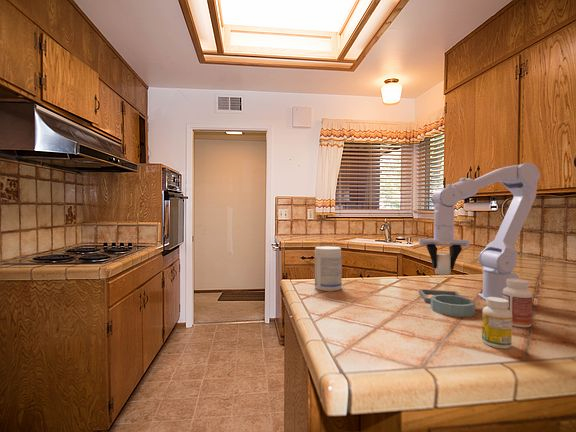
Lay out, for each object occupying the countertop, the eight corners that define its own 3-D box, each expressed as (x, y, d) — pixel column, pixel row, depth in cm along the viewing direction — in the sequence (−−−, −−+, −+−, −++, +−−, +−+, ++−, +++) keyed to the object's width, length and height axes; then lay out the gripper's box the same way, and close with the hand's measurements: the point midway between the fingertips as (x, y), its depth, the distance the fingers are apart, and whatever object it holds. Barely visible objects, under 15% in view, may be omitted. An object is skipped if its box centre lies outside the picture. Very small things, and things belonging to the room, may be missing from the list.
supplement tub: (346, 288, 115) (347, 247, 114) (330, 293, 108) (330, 250, 108) (325, 284, 122) (326, 245, 121) (308, 288, 115) (309, 247, 115)
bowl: (467, 306, 96) (467, 296, 95) (480, 318, 85) (480, 307, 85) (427, 303, 98) (427, 293, 98) (435, 314, 87) (436, 303, 87)
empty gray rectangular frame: (456, 294, 108) (456, 291, 108) (468, 305, 96) (468, 301, 96) (418, 292, 111) (418, 288, 111) (425, 302, 99) (425, 298, 99)
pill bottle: (536, 325, 80) (537, 281, 80) (525, 330, 77) (526, 284, 77) (508, 318, 85) (509, 276, 85) (497, 322, 82) (498, 279, 82)
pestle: (448, 272, 104) (448, 254, 104) (452, 275, 100) (452, 256, 100) (433, 271, 105) (434, 253, 105) (436, 274, 101) (437, 255, 101)
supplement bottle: (509, 351, 65) (511, 304, 65) (479, 344, 68) (480, 299, 68) (512, 343, 69) (514, 299, 69) (483, 336, 73) (485, 294, 72)
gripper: (421, 225, 100) (420, 269, 100) (473, 227, 97) (472, 271, 97) (418, 224, 107) (417, 265, 107) (466, 225, 104) (464, 267, 104)
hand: (442, 268), depth 103 cm, fingers closed on pestle, 4 cm apart
